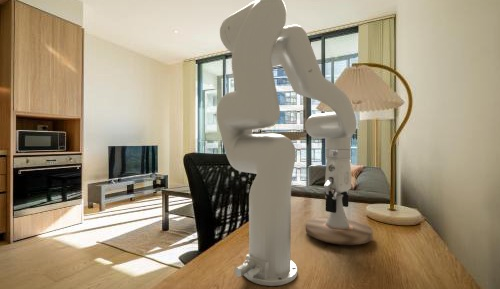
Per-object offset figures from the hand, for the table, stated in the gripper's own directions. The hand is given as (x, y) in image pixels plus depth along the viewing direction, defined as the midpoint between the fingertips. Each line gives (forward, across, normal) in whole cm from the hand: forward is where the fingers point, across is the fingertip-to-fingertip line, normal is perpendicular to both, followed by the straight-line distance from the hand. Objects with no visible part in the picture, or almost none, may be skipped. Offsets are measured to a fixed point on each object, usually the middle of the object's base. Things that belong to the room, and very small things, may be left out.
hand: (337, 208), depth 80 cm
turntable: (+7, 0, 0) cm, 7 cm away
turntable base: (+9, 0, 0) cm, 9 cm away
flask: (+6, 0, 0) cm, 6 cm away
